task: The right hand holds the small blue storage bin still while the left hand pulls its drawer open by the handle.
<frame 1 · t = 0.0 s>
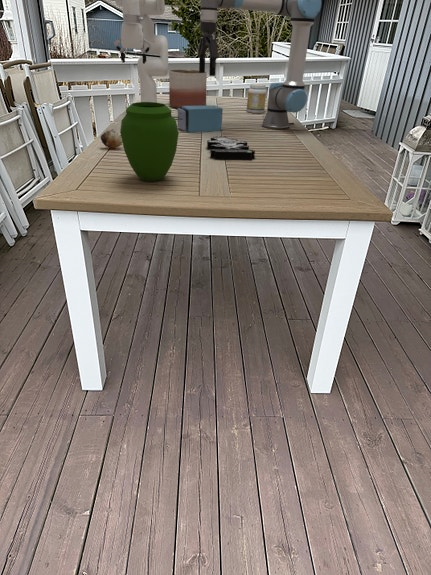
left hand: (133, 63, 194), 31 cm above the table, tool pointing down, fingers open, 9 cm apart
right hand: (206, 74, 196), 28 cm above the table, tool pointing down, fingers open, 13 cm apart
blue storage bin: (201, 129, 223), on the table
drawer: (190, 118, 217), point 6 cm above the table, slide at 1.6 cm
planter: (187, 107, 284), on the table
supplement tub: (255, 112, 279), on the table
seashell: (112, 148, 180), on the table
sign: (228, 150, 185), on the table
vase: (151, 178, 146), on the table
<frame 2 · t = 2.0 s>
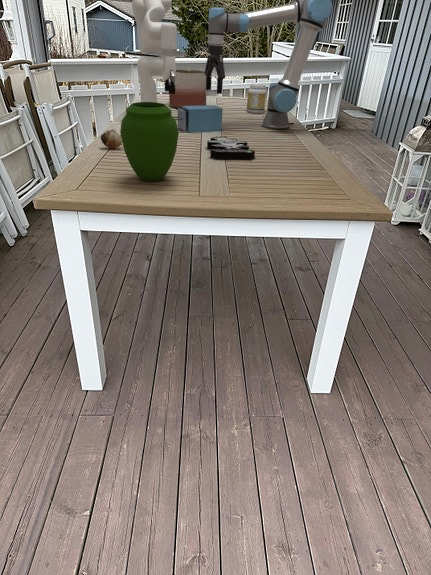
left hand: (169, 92, 206), 19 cm above the table, tool pointing down, fingers open, 9 cm apart
right hand: (213, 91, 215), 19 cm above the table, tool pointing down, fingers open, 13 cm apart
nothing on the table moved.
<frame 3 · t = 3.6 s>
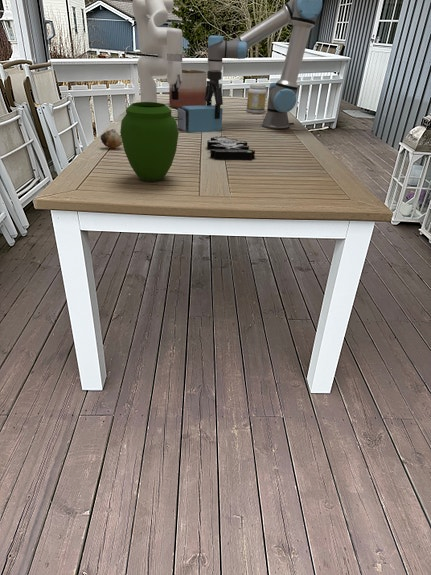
left hand: (174, 99, 209), 15 cm above the table, tool pointing down, fingers closed
right hand: (212, 116, 222), 6 cm above the table, tool pointing down, fingers closed on blue storage bin, 10 cm apart
blue storage bin: (201, 129, 223), on the table, touching right hand
everything else where it was.
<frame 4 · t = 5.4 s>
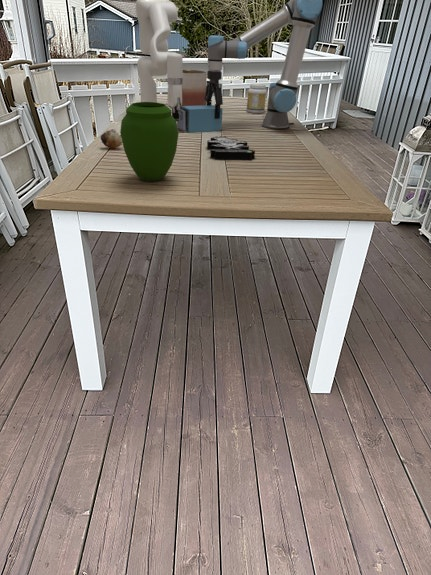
left hand: (175, 120, 214), 5 cm above the table, tool pointing down, fingers closed
right hand: (212, 116, 222), 6 cm above the table, tool pointing down, fingers closed on blue storage bin, 10 cm apart
blue storage bin: (201, 129, 223), on the table, touching right hand
drawer: (190, 118, 217), point 6 cm above the table, slide at 1.8 cm, touching left hand
everything else where it was.
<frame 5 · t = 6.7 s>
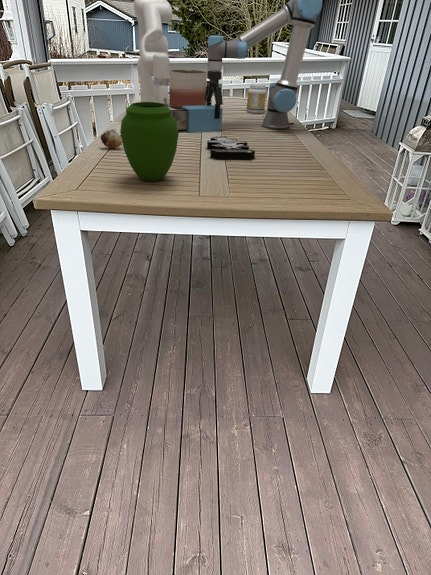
left hand: (162, 121, 211), 5 cm above the table, tool pointing down, fingers closed
right hand: (212, 116, 222), 6 cm above the table, tool pointing down, fingers closed on blue storage bin, 10 cm apart
blue storage bin: (201, 129, 223), on the table, touching right hand
drawer: (178, 119, 214), point 6 cm above the table, slide at 8.9 cm, touching left hand
everything else where it was.
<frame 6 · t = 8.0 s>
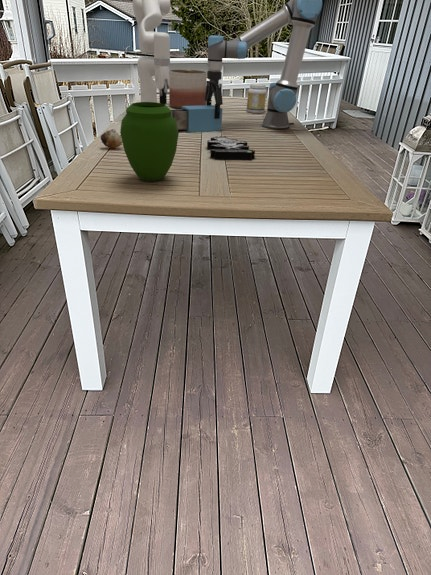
left hand: (163, 103, 207), 13 cm above the table, tool pointing down, fingers closed
right hand: (212, 116, 222), 6 cm above the table, tool pointing down, fingers closed on blue storage bin, 10 cm apart
blue storage bin: (201, 129, 223), on the table, touching right hand
drawer: (177, 119, 215), point 6 cm above the table, slide at 8.9 cm
everything else where it was.
when the right hand's fingers open (6 cm above the table, at t = 8.5 s): blue storage bin stays where it is, on the table.
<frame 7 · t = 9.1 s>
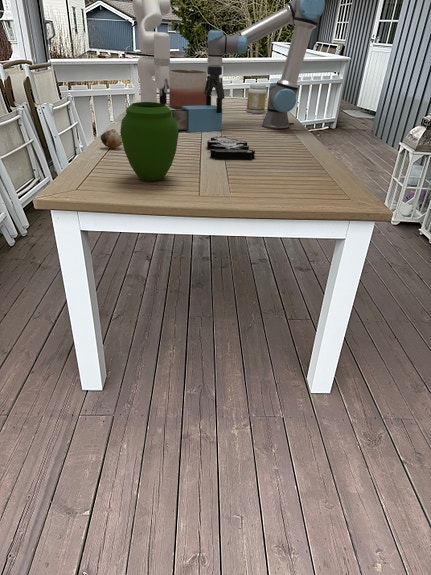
left hand: (163, 103, 207), 13 cm above the table, tool pointing down, fingers closed
right hand: (213, 110, 220), 9 cm above the table, tool pointing down, fingers open, 13 cm apart
blue storage bin: (201, 129, 223), on the table
everything else where it was.
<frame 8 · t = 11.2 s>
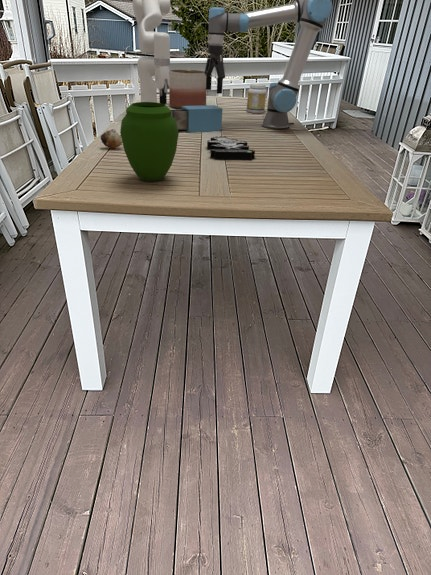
left hand: (163, 103, 207), 13 cm above the table, tool pointing down, fingers closed
right hand: (213, 91, 215), 19 cm above the table, tool pointing down, fingers open, 13 cm apart
nothing on the table moved.
at the end: drawer slide at 8.9 cm; blue storage bin tilted 0°; blue storage bin never tilted more than 1° during the clip; blue storage bin moved 0.1 cm from its start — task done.
